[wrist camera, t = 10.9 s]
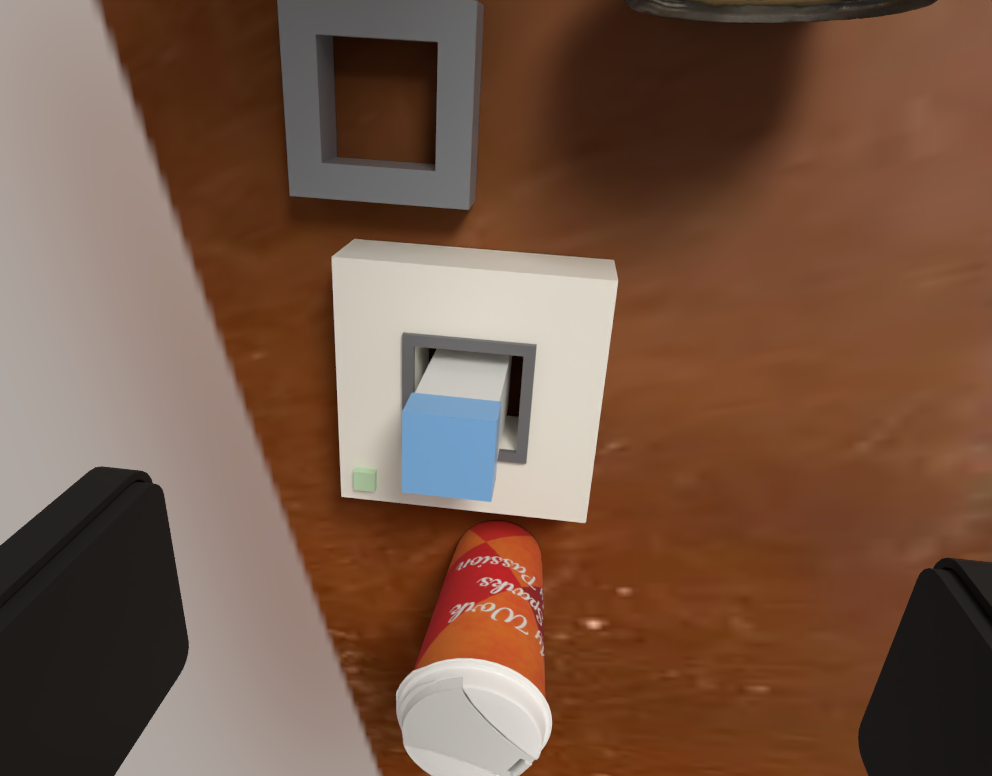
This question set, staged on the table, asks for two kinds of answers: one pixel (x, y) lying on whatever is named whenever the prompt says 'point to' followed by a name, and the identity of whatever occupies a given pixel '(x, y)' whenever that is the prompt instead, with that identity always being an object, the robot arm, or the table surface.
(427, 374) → the plug
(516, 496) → the port panel
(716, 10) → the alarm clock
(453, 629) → the paper cup
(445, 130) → the grey square frame
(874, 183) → the table surface
